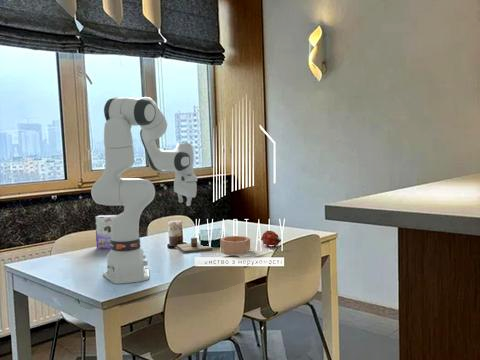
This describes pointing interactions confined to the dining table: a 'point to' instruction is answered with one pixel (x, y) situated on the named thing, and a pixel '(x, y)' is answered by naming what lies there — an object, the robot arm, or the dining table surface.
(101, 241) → the candy box
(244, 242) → the bowl
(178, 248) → the mat
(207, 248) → the lid
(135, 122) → the robot arm
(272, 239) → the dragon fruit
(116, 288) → the dining table surface
